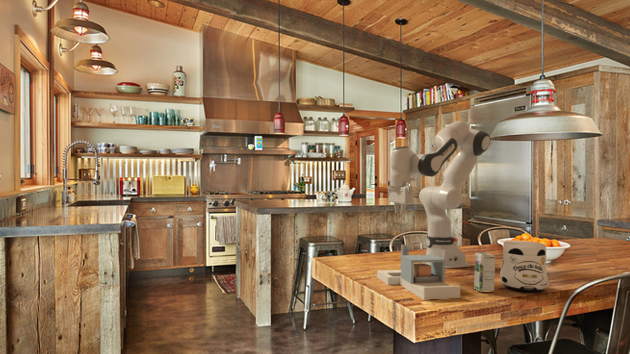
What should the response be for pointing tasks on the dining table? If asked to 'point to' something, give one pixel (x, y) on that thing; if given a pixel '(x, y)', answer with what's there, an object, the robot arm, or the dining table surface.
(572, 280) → the dining table surface
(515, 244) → the milk container
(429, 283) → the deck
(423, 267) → the block
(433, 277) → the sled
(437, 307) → the dining table surface
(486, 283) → the syrup box
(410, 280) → the tunnel
